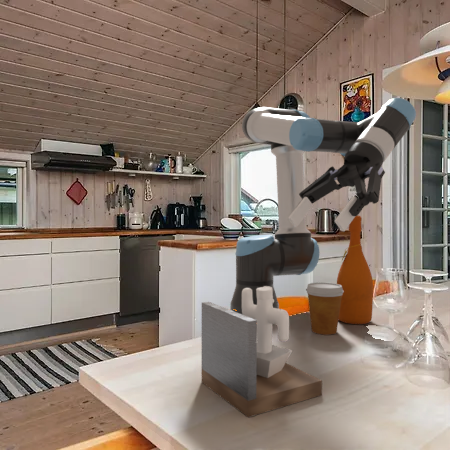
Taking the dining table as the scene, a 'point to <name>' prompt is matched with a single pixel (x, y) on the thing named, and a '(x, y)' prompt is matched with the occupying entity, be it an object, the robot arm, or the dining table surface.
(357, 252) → the wine bottle
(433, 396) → the dining table surface
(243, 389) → the grey metal bookend
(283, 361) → the figurine
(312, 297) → the disposable coffee cup
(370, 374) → the dining table surface
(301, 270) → the robot arm
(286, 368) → the walnut shelf board
